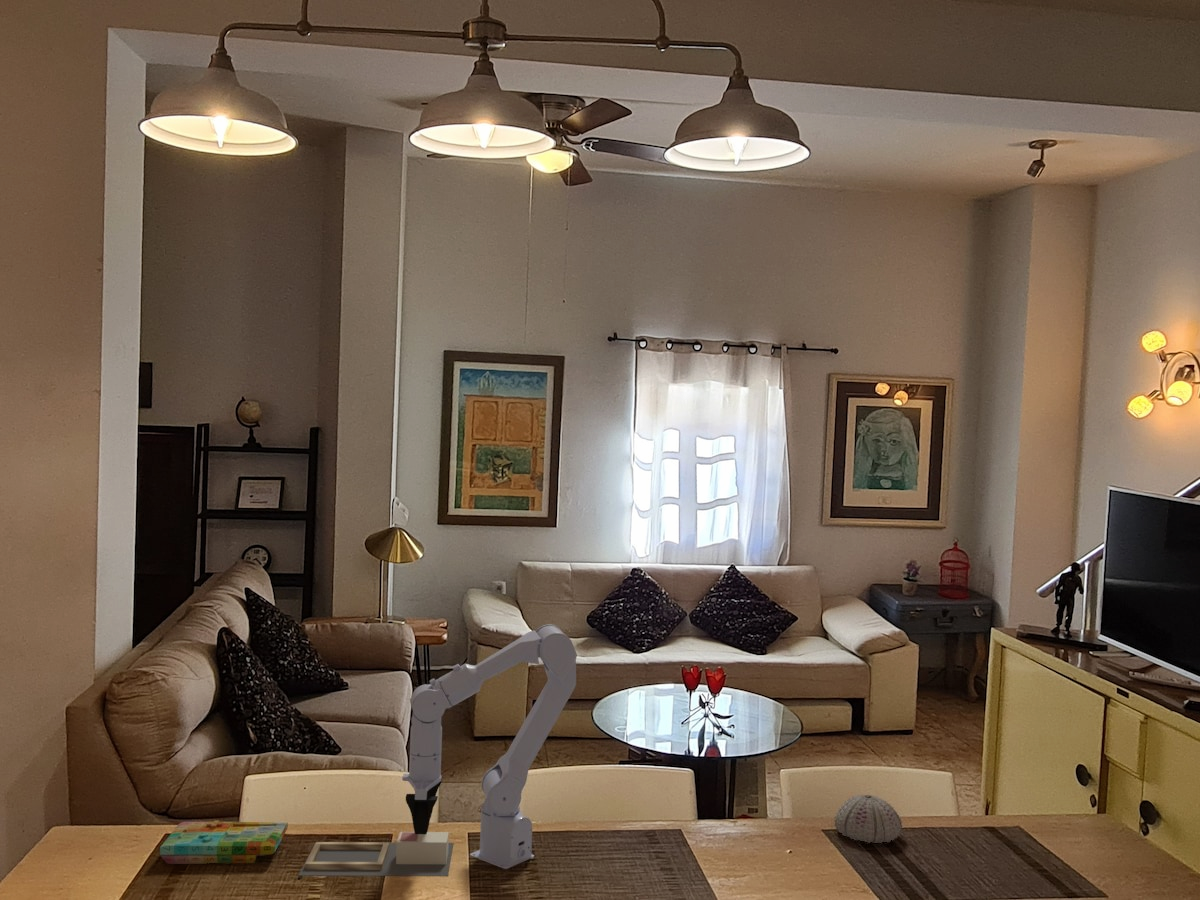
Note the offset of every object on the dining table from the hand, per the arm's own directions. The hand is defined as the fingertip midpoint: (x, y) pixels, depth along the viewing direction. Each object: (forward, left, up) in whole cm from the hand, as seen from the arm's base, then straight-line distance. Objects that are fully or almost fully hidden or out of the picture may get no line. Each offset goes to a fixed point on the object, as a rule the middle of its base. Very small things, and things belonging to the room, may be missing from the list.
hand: (423, 825), depth 194 cm
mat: (+6, +5, -7) cm, 10 cm away
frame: (+10, +9, -7) cm, 15 cm away
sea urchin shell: (-56, -70, -7) cm, 90 cm away
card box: (0, 0, -6) cm, 6 cm away
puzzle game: (+29, +22, -7) cm, 37 cm away
